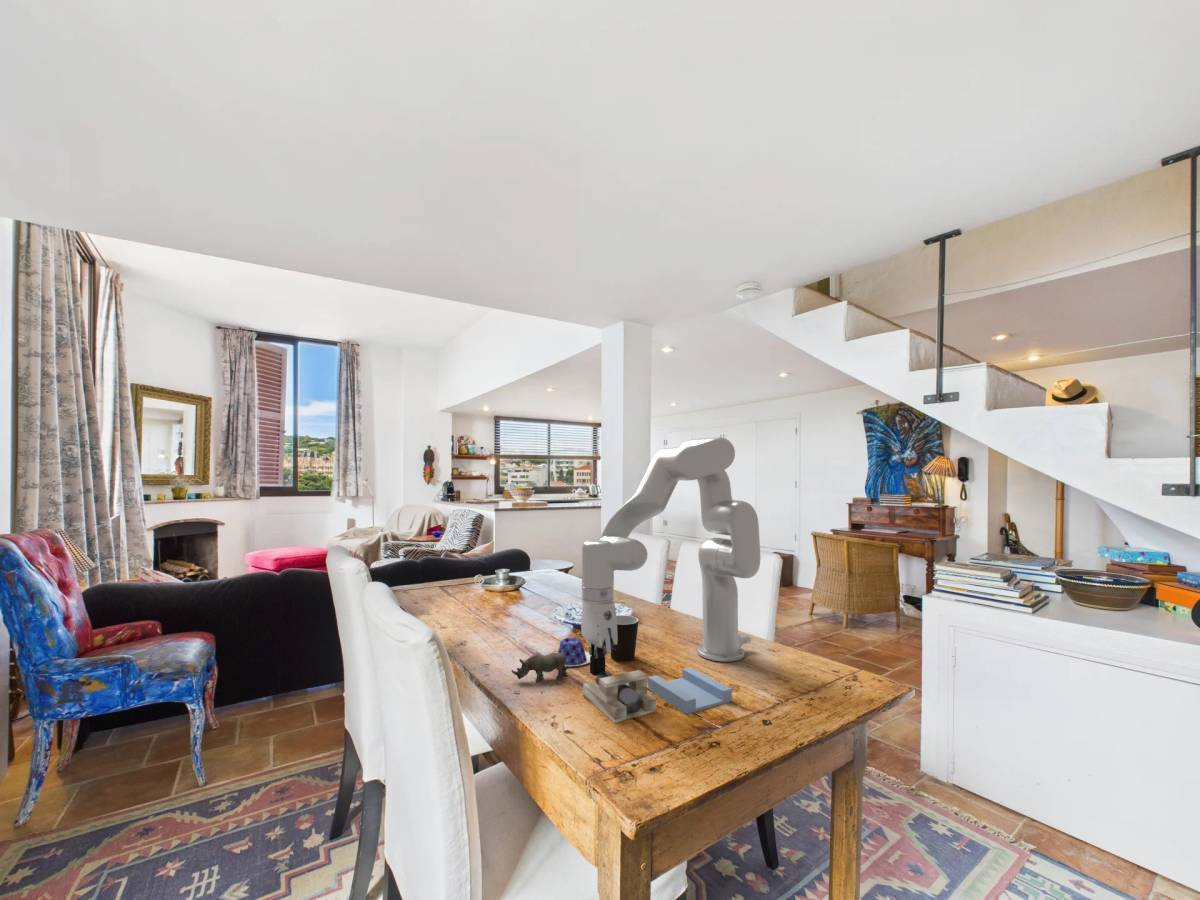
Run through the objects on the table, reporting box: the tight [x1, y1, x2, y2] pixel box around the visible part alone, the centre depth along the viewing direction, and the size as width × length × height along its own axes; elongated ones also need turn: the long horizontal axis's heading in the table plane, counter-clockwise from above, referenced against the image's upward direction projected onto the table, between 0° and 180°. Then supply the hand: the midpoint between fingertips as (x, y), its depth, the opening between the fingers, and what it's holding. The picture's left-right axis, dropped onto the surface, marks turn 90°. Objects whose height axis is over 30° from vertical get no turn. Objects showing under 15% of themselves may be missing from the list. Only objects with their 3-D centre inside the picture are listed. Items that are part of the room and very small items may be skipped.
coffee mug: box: [610, 614, 639, 663], centre depth 137 cm, size 12×9×10 cm
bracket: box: [582, 669, 657, 723], centre depth 108 cm, size 10×14×6 cm
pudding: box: [555, 637, 592, 667], centre depth 133 cm, size 12×12×5 cm
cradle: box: [647, 666, 733, 715], centre depth 112 cm, size 12×14×3 cm
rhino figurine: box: [511, 652, 568, 683], centre depth 120 cm, size 4×14×6 cm, turn 107°
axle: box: [595, 670, 642, 713], centre depth 108 cm, size 13×4×4 cm, turn 29°
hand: (597, 673), depth 116 cm, fingers closed
